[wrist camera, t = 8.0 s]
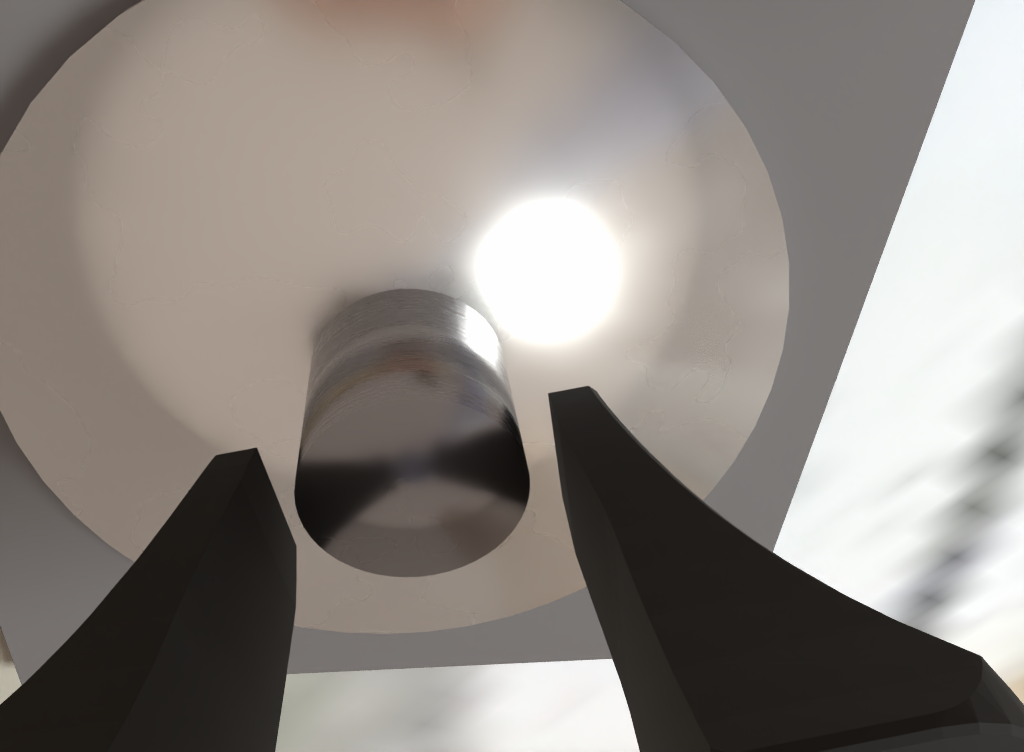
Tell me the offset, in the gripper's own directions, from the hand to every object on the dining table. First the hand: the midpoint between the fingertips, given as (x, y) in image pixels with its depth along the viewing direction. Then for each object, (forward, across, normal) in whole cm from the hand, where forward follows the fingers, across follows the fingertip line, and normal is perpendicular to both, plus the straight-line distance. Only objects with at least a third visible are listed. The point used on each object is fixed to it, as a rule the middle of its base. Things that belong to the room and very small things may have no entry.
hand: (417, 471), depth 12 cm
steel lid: (+3, 0, 0) cm, 3 cm away
